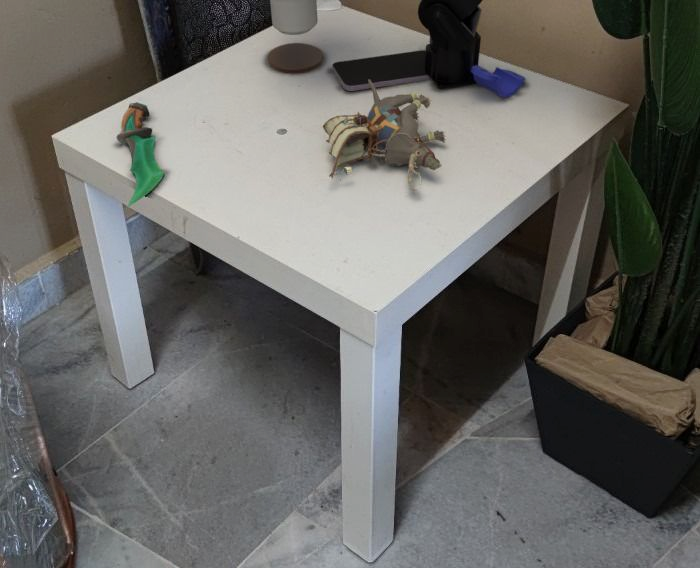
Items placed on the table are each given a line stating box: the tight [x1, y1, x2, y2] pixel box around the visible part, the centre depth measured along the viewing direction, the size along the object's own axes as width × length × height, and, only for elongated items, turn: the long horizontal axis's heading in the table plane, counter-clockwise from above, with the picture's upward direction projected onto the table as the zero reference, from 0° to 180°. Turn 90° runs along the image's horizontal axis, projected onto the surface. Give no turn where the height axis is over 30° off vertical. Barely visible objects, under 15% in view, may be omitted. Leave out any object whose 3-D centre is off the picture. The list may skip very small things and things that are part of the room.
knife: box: [116, 101, 165, 208], centre depth 113 cm, size 21×2×5 cm
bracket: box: [471, 64, 526, 99], centre depth 124 cm, size 9×5×3 cm, turn 129°
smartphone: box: [331, 49, 431, 92], centre depth 129 cm, size 7×1×15 cm
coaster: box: [267, 42, 324, 74], centre depth 132 cm, size 8×8×1 cm
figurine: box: [322, 79, 447, 194], centre depth 112 cm, size 20×6×17 cm
